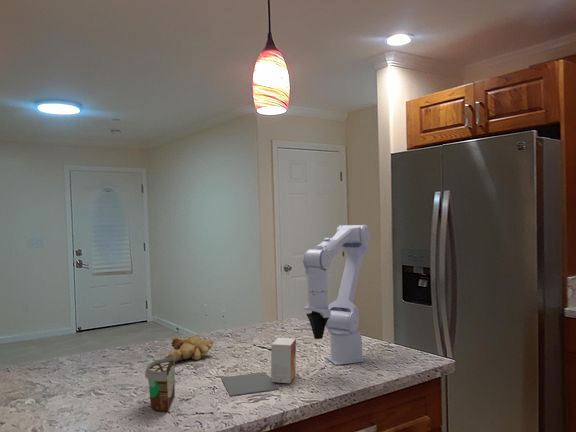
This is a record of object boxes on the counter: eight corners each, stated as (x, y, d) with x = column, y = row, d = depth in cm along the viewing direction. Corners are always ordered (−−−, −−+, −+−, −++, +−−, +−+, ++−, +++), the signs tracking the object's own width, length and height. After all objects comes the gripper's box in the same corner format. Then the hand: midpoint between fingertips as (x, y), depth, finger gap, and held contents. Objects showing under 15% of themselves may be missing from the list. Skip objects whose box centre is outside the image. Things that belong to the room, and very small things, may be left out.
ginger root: (209, 343, 166) (208, 323, 164) (217, 367, 151) (216, 345, 149) (163, 350, 161) (162, 329, 159) (167, 375, 146) (166, 352, 144)
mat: (265, 372, 137) (265, 371, 137) (278, 389, 124) (278, 388, 124) (221, 378, 133) (221, 377, 133) (230, 396, 120) (230, 395, 120)
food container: (151, 396, 122) (150, 358, 122) (175, 395, 122) (174, 356, 122) (140, 416, 109) (139, 374, 109) (167, 415, 110) (166, 372, 110)
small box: (290, 384, 127) (291, 345, 127) (270, 382, 128) (271, 344, 128) (296, 374, 135) (296, 338, 135) (277, 373, 136) (277, 336, 136)
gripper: (296, 288, 140) (297, 334, 140) (313, 295, 127) (314, 345, 126) (318, 287, 143) (319, 332, 142) (337, 293, 129) (338, 343, 128)
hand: (318, 338), depth 134 cm, fingers closed
